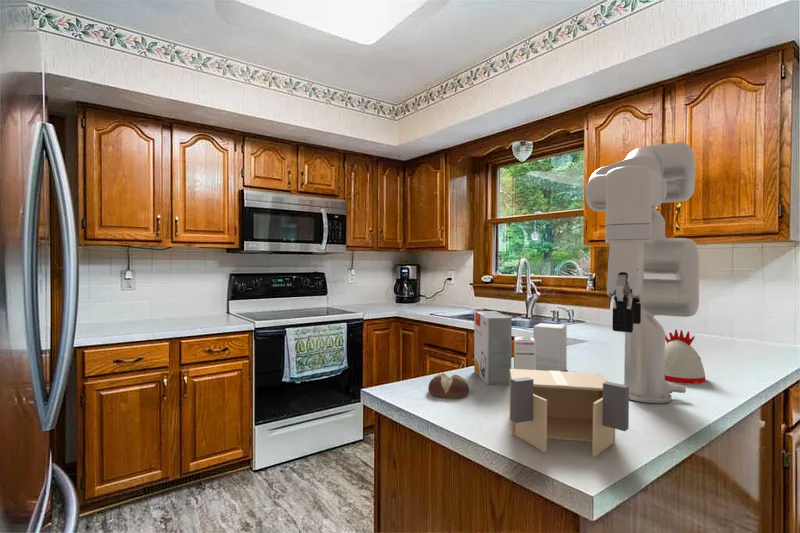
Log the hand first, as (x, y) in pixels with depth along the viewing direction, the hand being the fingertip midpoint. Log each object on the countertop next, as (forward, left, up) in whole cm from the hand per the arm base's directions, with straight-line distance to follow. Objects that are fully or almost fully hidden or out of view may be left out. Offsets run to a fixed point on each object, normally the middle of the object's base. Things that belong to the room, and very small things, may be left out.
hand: (627, 327), depth 81 cm
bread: (+36, -32, -25) cm, 54 cm away
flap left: (+19, 0, -24) cm, 30 cm away
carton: (+10, -12, -24) cm, 29 cm away
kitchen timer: (-33, -63, -25) cm, 75 cm away
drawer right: (+2, 0, -24) cm, 24 cm away
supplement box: (+5, -64, -25) cm, 69 cm away
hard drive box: (+24, -50, -25) cm, 61 cm away
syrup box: (+15, -40, -25) cm, 49 cm away
